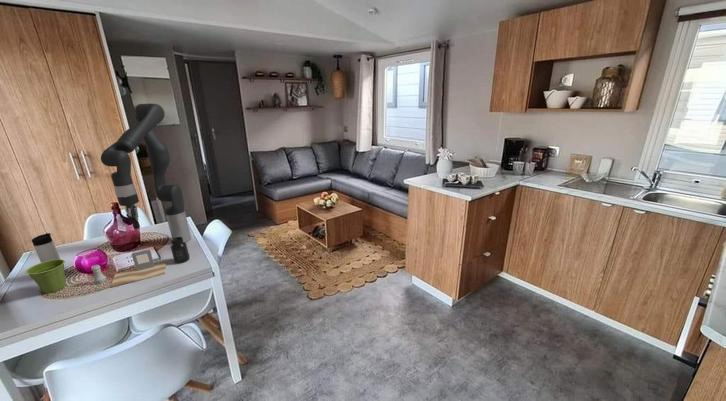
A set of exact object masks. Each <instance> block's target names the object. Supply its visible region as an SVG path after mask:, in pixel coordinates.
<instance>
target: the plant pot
mask: <svg viewBox="0 0 726 401" xmlns="http://www.w3.org/2000/svg"><path fill="white" fill-rule="evenodd" d="M65 263H66V260H65V259H62V258H60V259H56V260H50V261H46V262H42V263H41V262H40V263H37V264H34V265H33V266H30V267H29V268H28V269H26V271H25V274H26V275H29V277H30V278H31V279H33V281H34V282H35V283H36V285H37V286H38V287H39V289H40V290H41V291H42V293H44V294H51V293H55V292H58V291H60V290H61V289H64V288H65V287H66V285H67V283H66V275H65V273H66V272H65V273H64V269H65Z"/></svg>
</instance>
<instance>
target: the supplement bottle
mask: <svg viewBox="0 0 726 401" xmlns="http://www.w3.org/2000/svg"><path fill="white" fill-rule="evenodd" d="M170 242H171V245H170V250H171V254H172V257H173V261H174V263H176V264H182V263H186V262H188V261H189V260H190V259H191V258H190V253H189V249H188V246H187V245H188V244H187V242H183V238H182V237H176V238H173V239H172V238H171V239H170Z"/></svg>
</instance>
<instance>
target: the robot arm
mask: <svg viewBox="0 0 726 401" xmlns="http://www.w3.org/2000/svg"><path fill="white" fill-rule="evenodd" d="M134 110H135V111H134V112H135V114H134V115H135V117H136V120H137V123H136V124H134V125H132V126H131V127H129V128H128V129H126V130H125V131H124V132H123V133H122V134H121V135H120V137H119V138H118V140H117V141H116V142H114V143H112V144H111V145H109V146H108V147H107V148H105V149H104V150H103V152H102V153H101V156H100V162H101V163H102V164H103V165H104V166H106V167H115V168H116V171H115V172H112V173H111V174H110V178H111V182H112V186H113V188H114V193H115V196H116V198H117V203H118V205H119V206H120V207H125V209H124V210H125V213H126V217H127V219H128V220H129V222H130V223H131V224H132V227H133V229H134V230H138V229H140V227H141V226H140V221H139V212H138V206H137V205H135V204H138V203H139V202H140V200H139V196H138V193H137V189H136V186H135V184H134V182H133V177H132V175H131V174H132V173H131V169H132V160H131V156H130V155H129V153H133V152H134V151H135V150H136V148H137V147H138V145H139V144H140V143H141V141H142V140H144V145H145V147H146V152H147V156H148V160H149V163H150V167H151V171H152V175H153V176H152V177H153V182H154V191H155V194H156V198H157V199H158V200H159V201H160V202H171V205H169V206H168V207H166V208H165V209H164V213H165V216H166V221H167V224H168V227H169V228H168V229H169V231H170V232H169V233H170V235H171V240H172V239H173V238H176V237H182V238H183V242H185V243H187V242H189V241H191V240H192V236H191V235H192V234H191V230H190V227H189V223H188V219H187V213H186V210H185V200H184V197H183V196H184V195H183V190H182V188H181V186H180V185H178V184H167V181H166V173H167V170H168V168H169V166H170V163H171V157H170V152H169V148H168V147H167V145H166V143H165V142H164V140H162V138H161V137H160V136H159V134H158V133H157V132H156V130H155V128H156V126H158V125H159V124H160V123H161V122H162V121H163V120H164V118H165V110H164V108H163V106H161V105H159V104H158V103H140V104H137V105H136V106H135V109H134Z"/></svg>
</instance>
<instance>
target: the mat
mask: <svg viewBox="0 0 726 401" xmlns="http://www.w3.org/2000/svg"><path fill="white" fill-rule="evenodd" d="M154 264H155V267H152V268H148V269H144V270H139V271H137V270H136V268H134V269H130V270H125V271H121V272H117V273H115V274H114V277H113V279H112V282H111V284H110V289H112V288H116V287H120V286H124V285H128V284H132V283H135V282H139V281H143V280H147V279H151V278H155V277H159V276H162V275H165V273H166V266H167V261H162V262H158V263H154Z"/></svg>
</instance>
